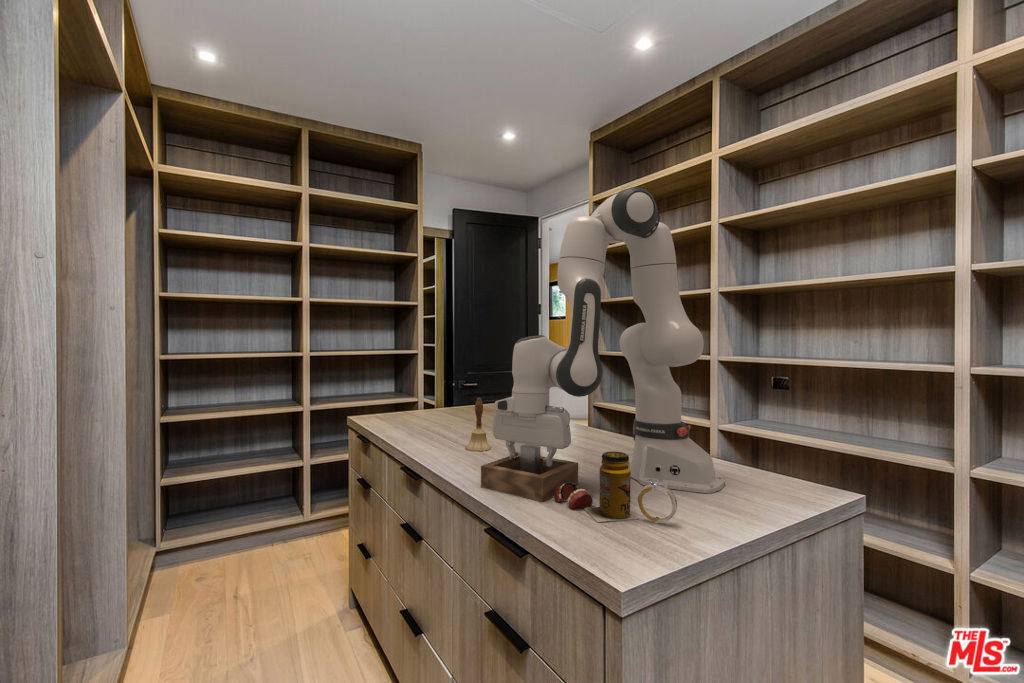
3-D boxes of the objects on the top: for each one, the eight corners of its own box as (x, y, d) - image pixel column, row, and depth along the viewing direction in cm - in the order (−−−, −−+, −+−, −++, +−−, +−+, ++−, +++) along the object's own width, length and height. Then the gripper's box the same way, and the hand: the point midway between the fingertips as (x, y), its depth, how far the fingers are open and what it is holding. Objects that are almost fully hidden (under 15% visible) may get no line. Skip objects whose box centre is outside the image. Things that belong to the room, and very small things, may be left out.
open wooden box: (578, 483, 115) (578, 462, 115) (542, 501, 102) (543, 478, 102) (519, 471, 125) (519, 452, 125) (480, 487, 112) (480, 465, 112)
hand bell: (497, 448, 151) (497, 397, 151) (477, 452, 145) (477, 400, 145) (479, 444, 157) (479, 395, 157) (459, 448, 151) (460, 397, 151)
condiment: (638, 519, 92) (639, 457, 92) (597, 523, 90) (598, 459, 90) (621, 506, 99) (622, 448, 99) (583, 509, 98) (583, 450, 97)
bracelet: (678, 524, 90) (678, 481, 90) (673, 530, 87) (673, 486, 87) (641, 516, 94) (642, 475, 94) (636, 521, 91) (636, 479, 91)
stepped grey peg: (544, 482, 114) (544, 445, 114) (530, 488, 110) (530, 449, 109) (530, 479, 117) (530, 442, 117) (515, 485, 112) (516, 447, 112)
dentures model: (574, 491, 96) (552, 481, 103) (574, 512, 96) (551, 501, 103) (596, 488, 99) (572, 478, 106) (595, 508, 99) (572, 497, 106)
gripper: (576, 406, 110) (575, 466, 110) (504, 399, 121) (504, 453, 122) (562, 409, 104) (562, 472, 105) (488, 402, 116) (488, 458, 116)
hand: (530, 462), depth 113 cm, fingers open, 8 cm apart
